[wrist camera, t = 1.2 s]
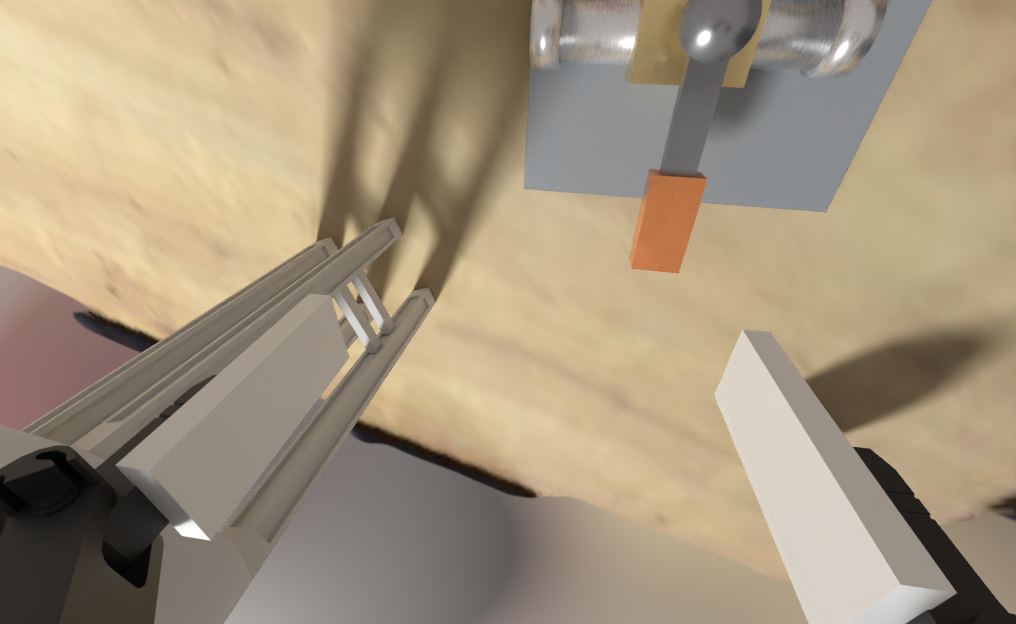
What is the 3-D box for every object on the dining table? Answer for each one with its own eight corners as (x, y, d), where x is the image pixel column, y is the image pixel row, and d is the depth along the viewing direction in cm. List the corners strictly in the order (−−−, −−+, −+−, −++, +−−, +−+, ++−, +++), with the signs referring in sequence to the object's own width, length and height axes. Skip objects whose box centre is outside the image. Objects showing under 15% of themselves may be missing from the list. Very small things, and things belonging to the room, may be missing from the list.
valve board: (995, -174, 22) (1028, -194, 20) (814, 205, 34) (825, 212, 32) (544, -152, 25) (540, -167, 24) (526, 183, 37) (523, 188, 36)
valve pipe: (858, -19, 25) (973, -55, 17) (815, 87, 28) (896, 95, 21) (541, -19, 28) (522, -50, 20) (535, 77, 31) (518, 81, 24)
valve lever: (761, -22, 19) (775, -29, 18) (676, 262, 28) (681, 273, 26) (686, -21, 20) (694, -28, 18) (626, 257, 28) (628, 268, 27)
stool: (358, 332, 53) (77, 655, 24) (293, 229, 46) (-223, 514, 17) (456, 312, 48) (250, 690, 19) (401, 193, 40) (-71, 510, 12)
